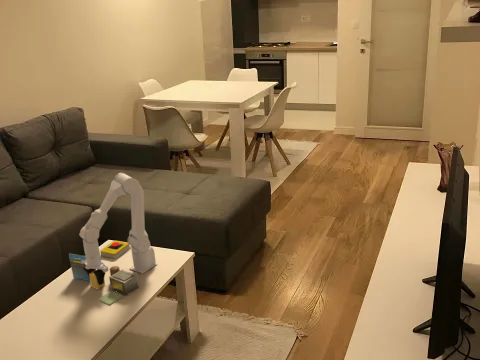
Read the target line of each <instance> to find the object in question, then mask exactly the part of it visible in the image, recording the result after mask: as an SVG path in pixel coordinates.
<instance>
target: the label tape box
mask: <svg viewBox="0 0 480 360" xmlns="http://www.w3.org/2000/svg"><path fill="white" fill-rule="evenodd" d="M68 258H69V259H68V260H69V262H70V263H69V264H70V267H71V272H72V276H73V279H75V280H83V281H89V282H90V278H89V276H88V274H87V273H86V271H85V270H84V267H86V265H85V264H82V263H81V260H82V259H85V260H86V256H85V255H80V254H74V253H69V254H68Z"/></svg>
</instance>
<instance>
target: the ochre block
mask: <svg viewBox="0 0 480 360" xmlns="http://www.w3.org/2000/svg"><path fill="white" fill-rule="evenodd" d="M96 270H97V269H96ZM96 270H95V271H96ZM93 272H94V271H93ZM93 272H92V273H90V274H89V276H90V281H89V282H90V286H91V288H94V287H95V288H94V289H96V288H97V290H99V289H100V288H101V286H102V287H103V286H105V285H106V281H105V280H104V283H103V284H101V285H99V284H98V281H97V278H96V276H95V274H94V273H93ZM104 284H105V285H104ZM98 288H99V289H98Z"/></svg>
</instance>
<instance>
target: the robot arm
mask: <svg viewBox="0 0 480 360" xmlns="http://www.w3.org/2000/svg"><path fill="white" fill-rule="evenodd" d="M126 193H127V194H130V211H131V212H130V213H131V215H130V217H131V229H130V230H129V233H128V234H129V236H128V237H127V243H129V246H131V248H130V249H131V255H132V264H133V266H130V267H129V269H130V270H132V271H135V272H137V273H140V274H144V273H146V272H147V271H148V270H151V269H153V267H155V266H156V265H158V263H157V262H156V256H155V249H154V248H153V247H152V246H151V242H150V240H149V235H148V233H147V231H146V229H145V228H146V227H145V225H146V224H145V191H144V189H143V187H142V185H141V184H140V181H139V180H137V179H136V178H134V177H131V176H130V175H128V174H126V173H124V172H118V174H116V175H115V176H114V178H113V180H112V181H111V183H110V187H109V190H108V191H107V193H106V196H105V197H104V198H103V201H102V203H101V205H100V206H99V208H98V209H95V210H94V211H93V212H91V214H90V218H89V219H88V221H87V222H86V223H85V225H84V226H82V228H81V229H80V231H79V233H78V235H79V237H80V238H81V239H82V243H83V250H84V254H85V255H84V256H86V260H85V259H82V260H81V263H82V264H85V265H86V267H84V270H85V271H86V273H87V274H88V276H89V274H90V273H92V272H93V271H94V272H93V273H94V274H95V276H96V278H97V281H98V284H99V285H101V284H103V283H104V281H105V275H106V273H107V272H110V269H109V266H107V265H106V264H105V263H104V262H103V261H102V259H101V257H100V255H101V252H100V248H99V242H98V239H99V237H100V231H101V229H102V227H103V226H104V224H105V222H106V221H107V219H108V211H109V210H110V209H111V207H112V206H113V205H114V203H115V202H116V201H117V198H119V197H122V196H123V197H124V196H126V195H127V194H126ZM95 270H96V271H95ZM89 278H90V276H89Z"/></svg>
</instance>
